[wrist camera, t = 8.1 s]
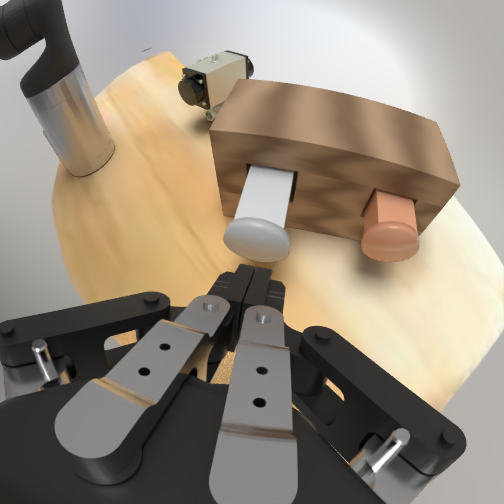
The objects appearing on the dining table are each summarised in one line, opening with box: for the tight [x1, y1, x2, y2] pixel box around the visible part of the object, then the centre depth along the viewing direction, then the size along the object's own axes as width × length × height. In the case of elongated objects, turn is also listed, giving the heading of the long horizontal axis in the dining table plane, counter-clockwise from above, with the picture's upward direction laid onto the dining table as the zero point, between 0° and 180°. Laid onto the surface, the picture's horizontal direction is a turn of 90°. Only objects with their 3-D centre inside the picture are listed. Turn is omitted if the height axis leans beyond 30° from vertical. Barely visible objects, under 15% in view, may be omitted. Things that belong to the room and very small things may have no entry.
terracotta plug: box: [361, 188, 419, 262], centre depth 25 cm, size 6×11×6 cm, turn 167°
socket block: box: [209, 79, 460, 241], centre depth 28 cm, size 23×10×13 cm, turn 77°
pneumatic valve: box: [178, 51, 254, 121], centre depth 37 cm, size 6×12×12 cm, turn 137°
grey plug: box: [223, 164, 295, 262], centre depth 26 cm, size 6×11×6 cm, turn 167°
